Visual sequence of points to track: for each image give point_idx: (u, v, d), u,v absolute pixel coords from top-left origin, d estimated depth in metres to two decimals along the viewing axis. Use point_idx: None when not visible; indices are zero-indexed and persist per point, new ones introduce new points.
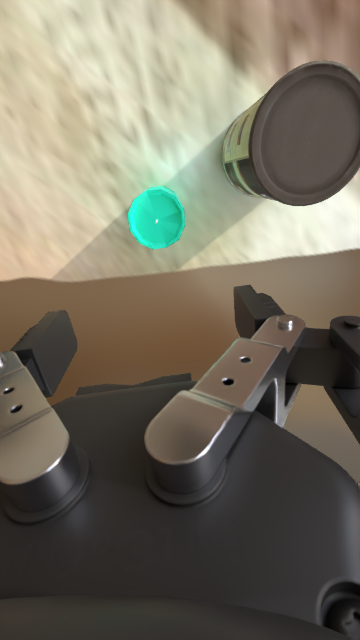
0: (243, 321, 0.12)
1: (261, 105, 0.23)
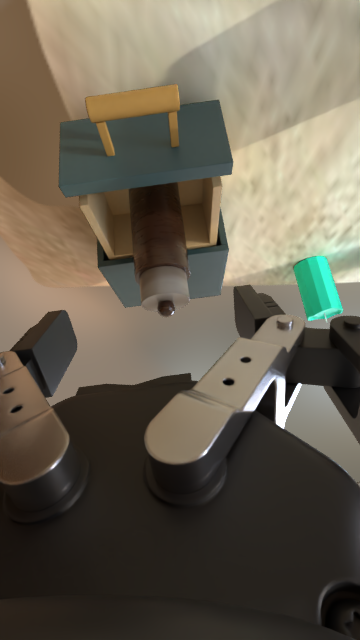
0: (243, 321, 0.12)
1: None
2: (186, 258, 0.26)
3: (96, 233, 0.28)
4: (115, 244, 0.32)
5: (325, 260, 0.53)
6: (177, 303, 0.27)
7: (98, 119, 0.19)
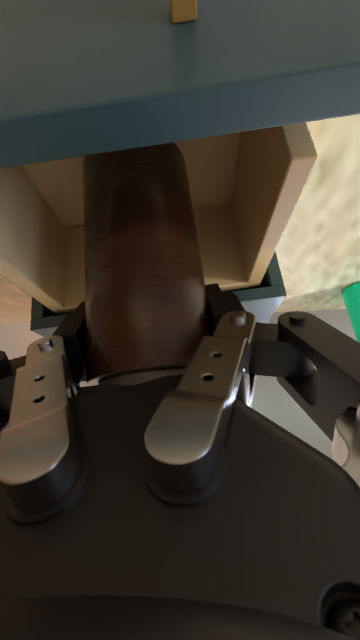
0: None
1: None
2: None
3: (4, 274, 0.12)
4: (66, 284, 0.17)
5: None
6: None
7: None
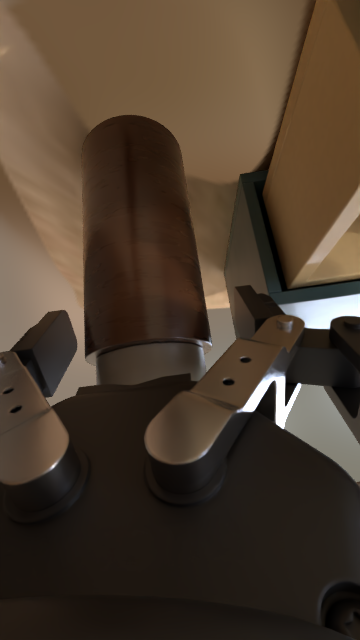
0: (243, 321, 0.12)
1: None
2: (203, 316, 0.11)
3: (332, 230, 0.10)
4: None
5: None
6: None
7: None
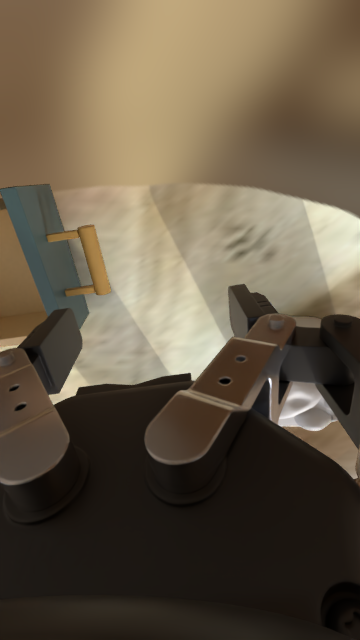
0: (237, 320, 0.12)
1: None
2: None
3: None
4: None
5: None
6: None
7: (83, 235, 0.24)
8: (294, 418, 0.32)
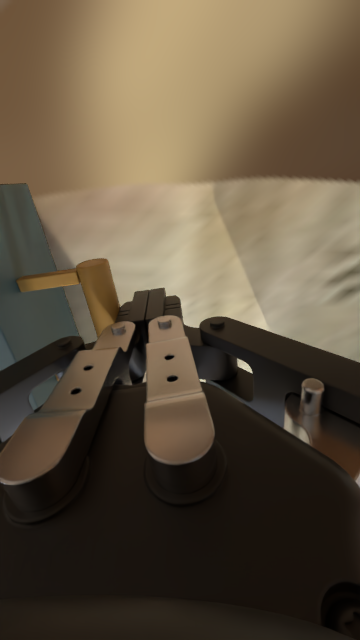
0: None
1: None
2: None
3: None
4: None
5: None
6: None
7: (87, 280, 0.12)
8: None
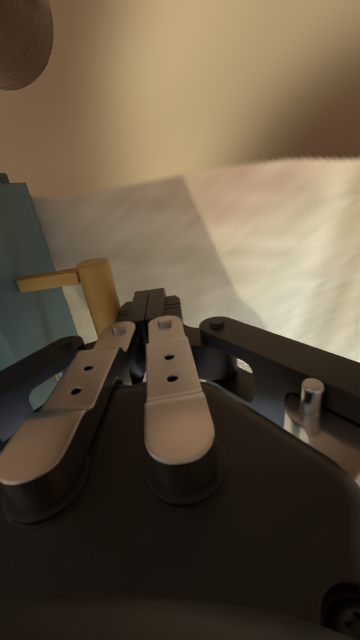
0: None
1: None
2: None
3: None
4: None
5: None
6: None
7: (87, 280, 0.12)
8: None
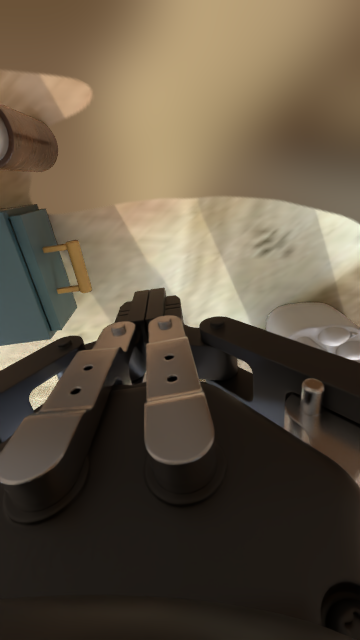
0: None
1: None
2: (10, 165, 0.25)
3: None
4: None
5: None
6: None
7: (69, 248, 0.32)
8: None
